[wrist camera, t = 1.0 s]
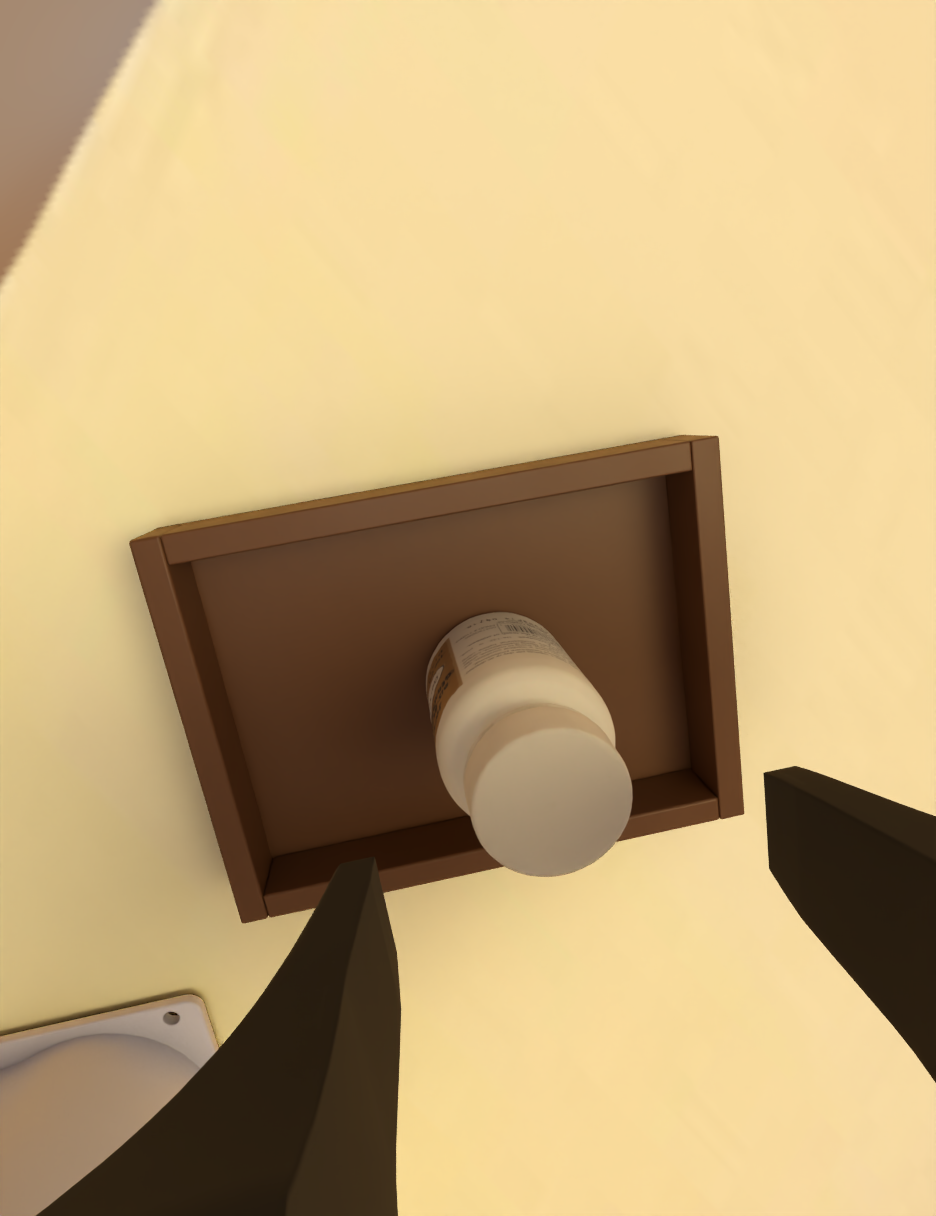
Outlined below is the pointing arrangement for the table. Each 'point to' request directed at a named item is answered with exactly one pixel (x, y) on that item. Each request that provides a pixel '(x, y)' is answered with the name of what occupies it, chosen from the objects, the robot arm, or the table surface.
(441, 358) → the table surface
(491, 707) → the pill bottle
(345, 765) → the tray
